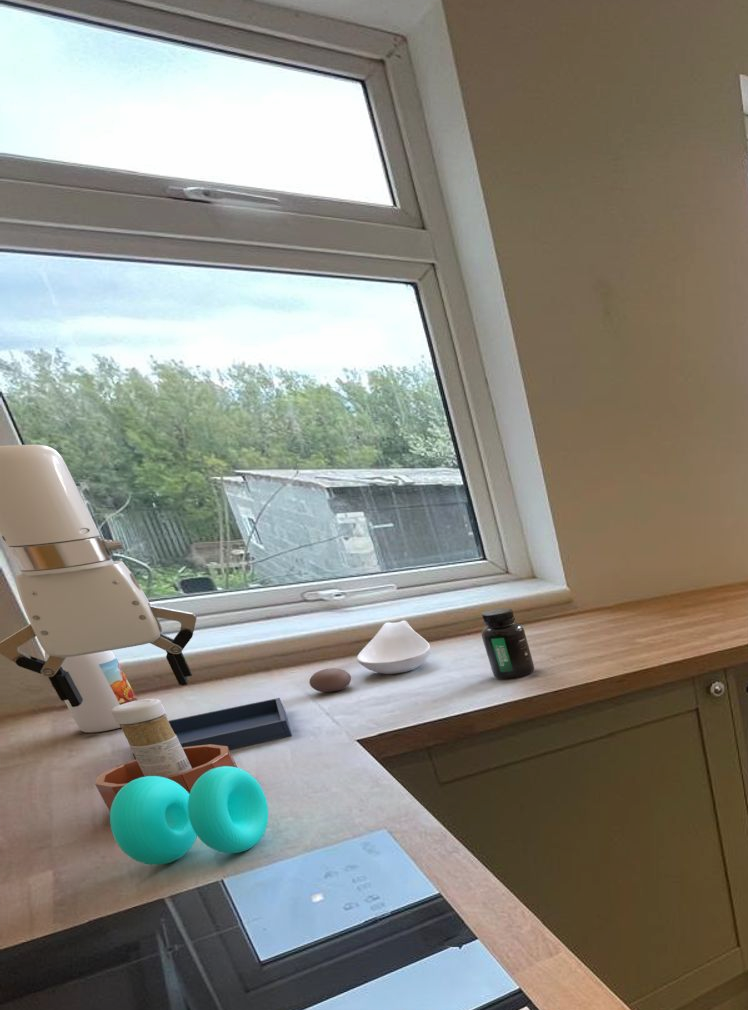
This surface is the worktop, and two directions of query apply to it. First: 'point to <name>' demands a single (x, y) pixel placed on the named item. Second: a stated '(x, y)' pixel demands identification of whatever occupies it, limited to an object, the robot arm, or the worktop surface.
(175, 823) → the donuts
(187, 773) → the bowl
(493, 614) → the supplement bottle
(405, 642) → the spoon rest
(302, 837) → the worktop surface
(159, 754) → the sprinkles bottle
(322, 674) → the egg
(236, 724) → the tray
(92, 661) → the milk bottle
